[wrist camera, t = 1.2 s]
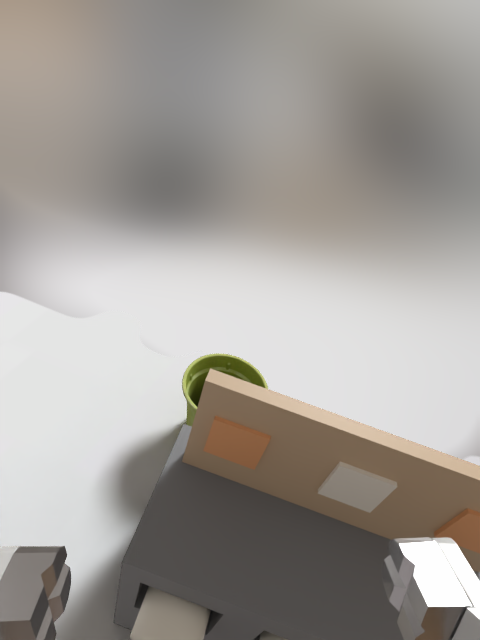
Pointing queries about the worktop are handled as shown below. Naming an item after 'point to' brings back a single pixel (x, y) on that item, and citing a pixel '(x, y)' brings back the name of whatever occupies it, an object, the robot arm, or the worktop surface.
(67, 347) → the worktop surface
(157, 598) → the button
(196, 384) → the plant pot
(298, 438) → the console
